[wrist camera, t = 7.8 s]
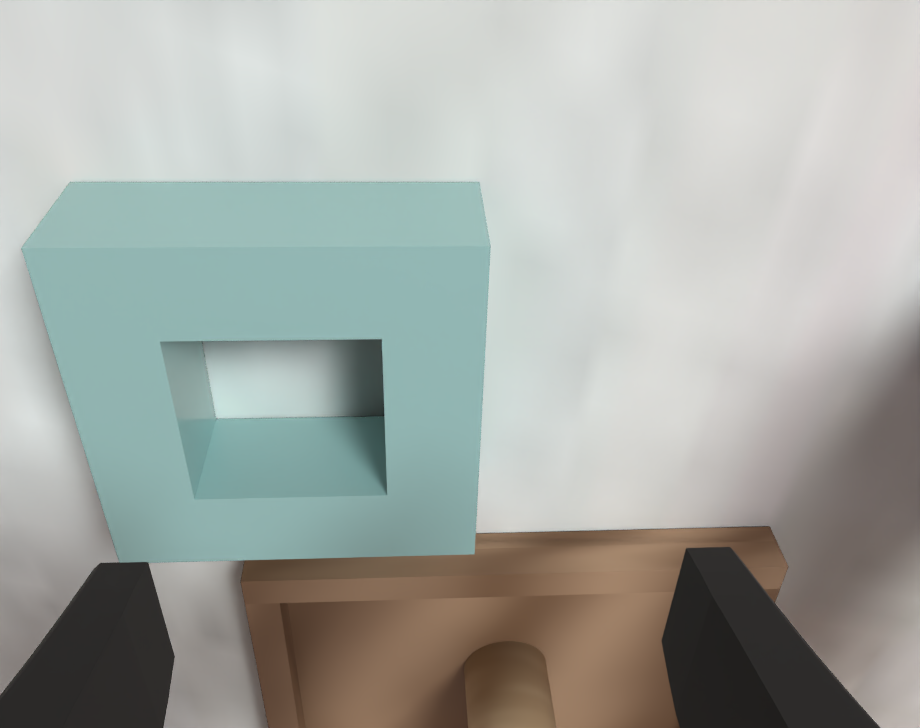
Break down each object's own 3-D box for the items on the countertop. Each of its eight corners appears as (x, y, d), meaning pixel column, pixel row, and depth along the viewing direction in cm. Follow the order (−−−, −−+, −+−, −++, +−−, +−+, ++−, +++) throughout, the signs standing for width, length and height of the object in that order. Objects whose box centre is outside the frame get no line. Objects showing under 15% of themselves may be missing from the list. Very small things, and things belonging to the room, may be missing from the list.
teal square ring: (479, 182, 19) (490, 245, 17) (467, 473, 25) (474, 554, 22) (69, 182, 19) (21, 247, 16) (147, 480, 24) (120, 563, 22)
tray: (769, 526, 27) (788, 566, 25) (696, 738, 34) (708, 778, 33) (248, 539, 26) (240, 581, 24) (286, 754, 33) (281, 796, 32)
